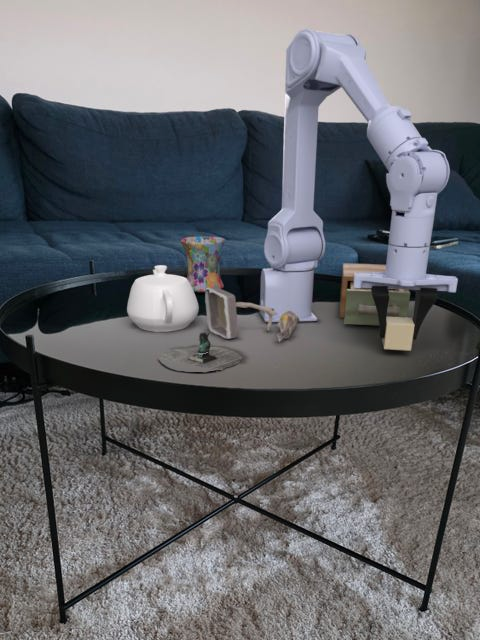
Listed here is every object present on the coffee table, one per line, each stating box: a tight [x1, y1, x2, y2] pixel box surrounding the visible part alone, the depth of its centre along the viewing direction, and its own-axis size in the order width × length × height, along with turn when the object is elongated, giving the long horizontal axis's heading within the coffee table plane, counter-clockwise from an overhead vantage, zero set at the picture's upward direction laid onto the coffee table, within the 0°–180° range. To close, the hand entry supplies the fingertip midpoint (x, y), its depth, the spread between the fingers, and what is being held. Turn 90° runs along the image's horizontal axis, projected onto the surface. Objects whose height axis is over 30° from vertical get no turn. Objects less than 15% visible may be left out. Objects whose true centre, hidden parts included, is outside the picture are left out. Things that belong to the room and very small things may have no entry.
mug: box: [180, 235, 226, 294], centre depth 127 cm, size 12×9×11 cm
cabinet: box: [339, 262, 410, 319], centre depth 112 cm, size 13×12×8 cm
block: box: [381, 316, 415, 352], centre depth 90 cm, size 4×4×4 cm
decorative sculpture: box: [204, 287, 300, 343], centre depth 97 cm, size 16×10×7 cm, turn 94°
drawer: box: [343, 281, 411, 327], centre depth 103 cm, size 16×10×6 cm, turn 171°
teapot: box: [126, 264, 200, 333], centre depth 102 cm, size 20×12×10 cm, turn 14°
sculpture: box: [158, 331, 243, 371], centre depth 88 cm, size 12×9×8 cm
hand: (397, 337), depth 90 cm, fingers closed on block, 4 cm apart
